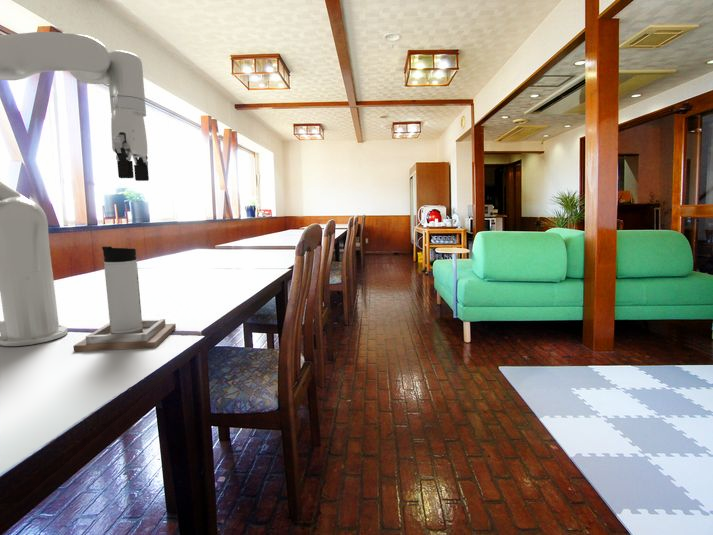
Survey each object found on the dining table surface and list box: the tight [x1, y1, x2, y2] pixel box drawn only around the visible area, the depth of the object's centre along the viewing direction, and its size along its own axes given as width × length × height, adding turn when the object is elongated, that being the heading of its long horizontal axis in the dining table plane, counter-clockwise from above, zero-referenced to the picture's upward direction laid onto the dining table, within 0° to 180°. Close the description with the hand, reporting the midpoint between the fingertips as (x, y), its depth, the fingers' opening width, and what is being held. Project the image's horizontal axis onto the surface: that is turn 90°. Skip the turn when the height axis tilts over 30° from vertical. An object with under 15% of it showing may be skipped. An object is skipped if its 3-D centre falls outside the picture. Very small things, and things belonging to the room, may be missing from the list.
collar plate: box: [73, 318, 176, 352], centre depth 92 cm, size 16×14×3 cm
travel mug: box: [101, 245, 143, 334], centre depth 90 cm, size 6×7×20 cm
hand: (134, 179), depth 103 cm, fingers open, 9 cm apart
